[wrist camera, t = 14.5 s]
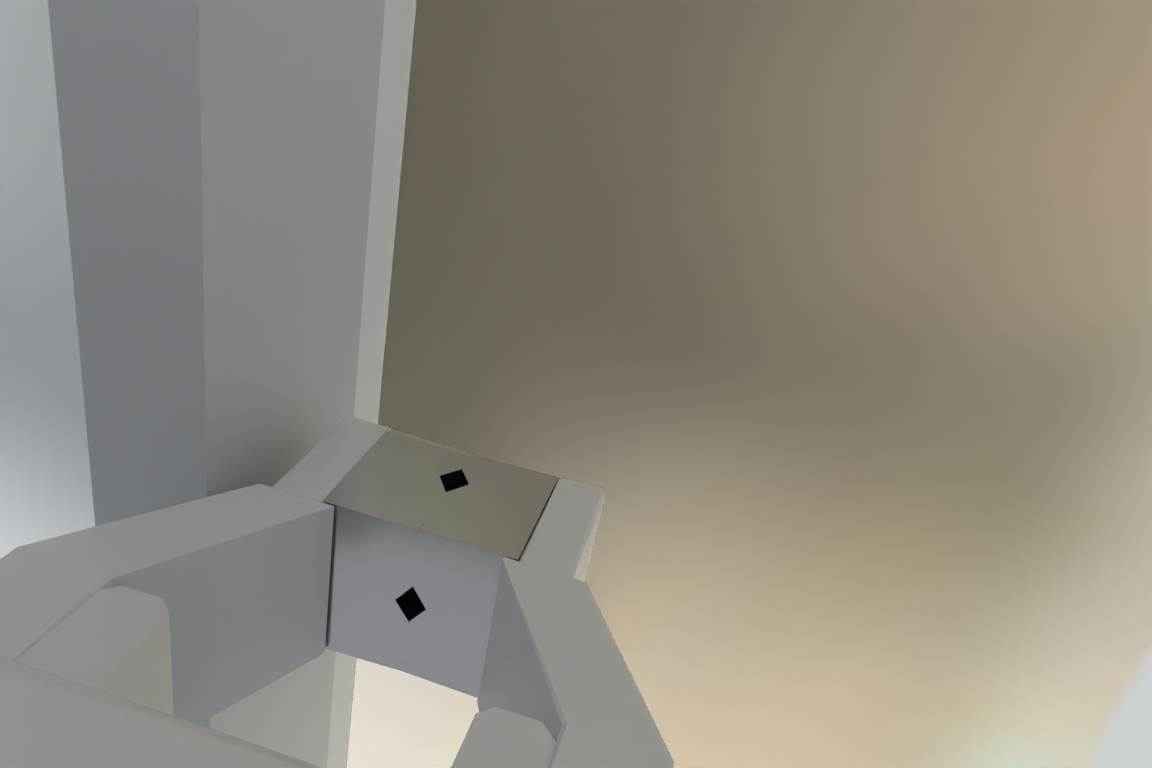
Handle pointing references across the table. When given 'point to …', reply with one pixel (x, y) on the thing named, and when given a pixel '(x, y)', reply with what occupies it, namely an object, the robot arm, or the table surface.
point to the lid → (194, 268)
